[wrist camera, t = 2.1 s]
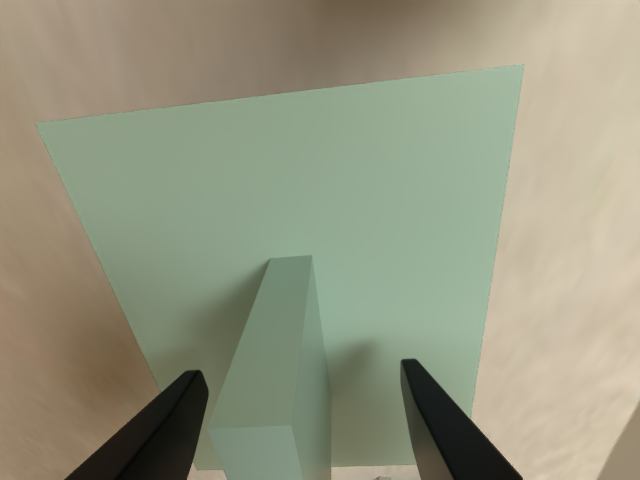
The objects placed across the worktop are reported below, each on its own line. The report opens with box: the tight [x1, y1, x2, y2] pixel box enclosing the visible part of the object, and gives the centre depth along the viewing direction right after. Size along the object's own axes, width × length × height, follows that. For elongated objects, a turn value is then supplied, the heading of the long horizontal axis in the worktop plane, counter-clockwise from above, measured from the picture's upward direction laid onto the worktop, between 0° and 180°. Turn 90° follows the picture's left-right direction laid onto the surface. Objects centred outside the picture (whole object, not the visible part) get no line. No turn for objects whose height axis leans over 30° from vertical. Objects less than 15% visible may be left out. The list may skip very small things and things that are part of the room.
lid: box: [35, 64, 524, 480], centre depth 9 cm, size 11×14×7 cm
